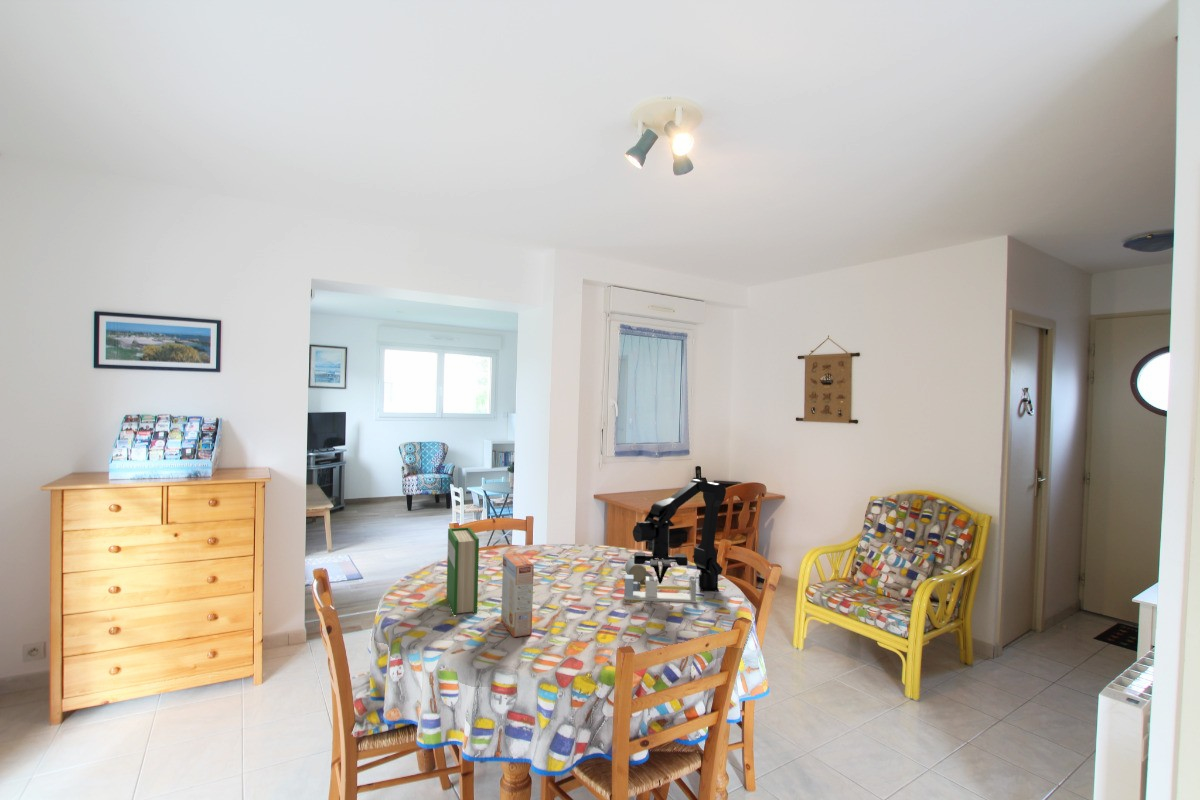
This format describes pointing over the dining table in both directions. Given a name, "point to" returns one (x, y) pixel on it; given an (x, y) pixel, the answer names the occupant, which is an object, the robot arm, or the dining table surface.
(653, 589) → the marker sleeve
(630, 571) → the ceramic mug
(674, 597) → the cord rig
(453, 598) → the hardback book
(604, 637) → the dining table surface
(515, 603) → the cracker box
